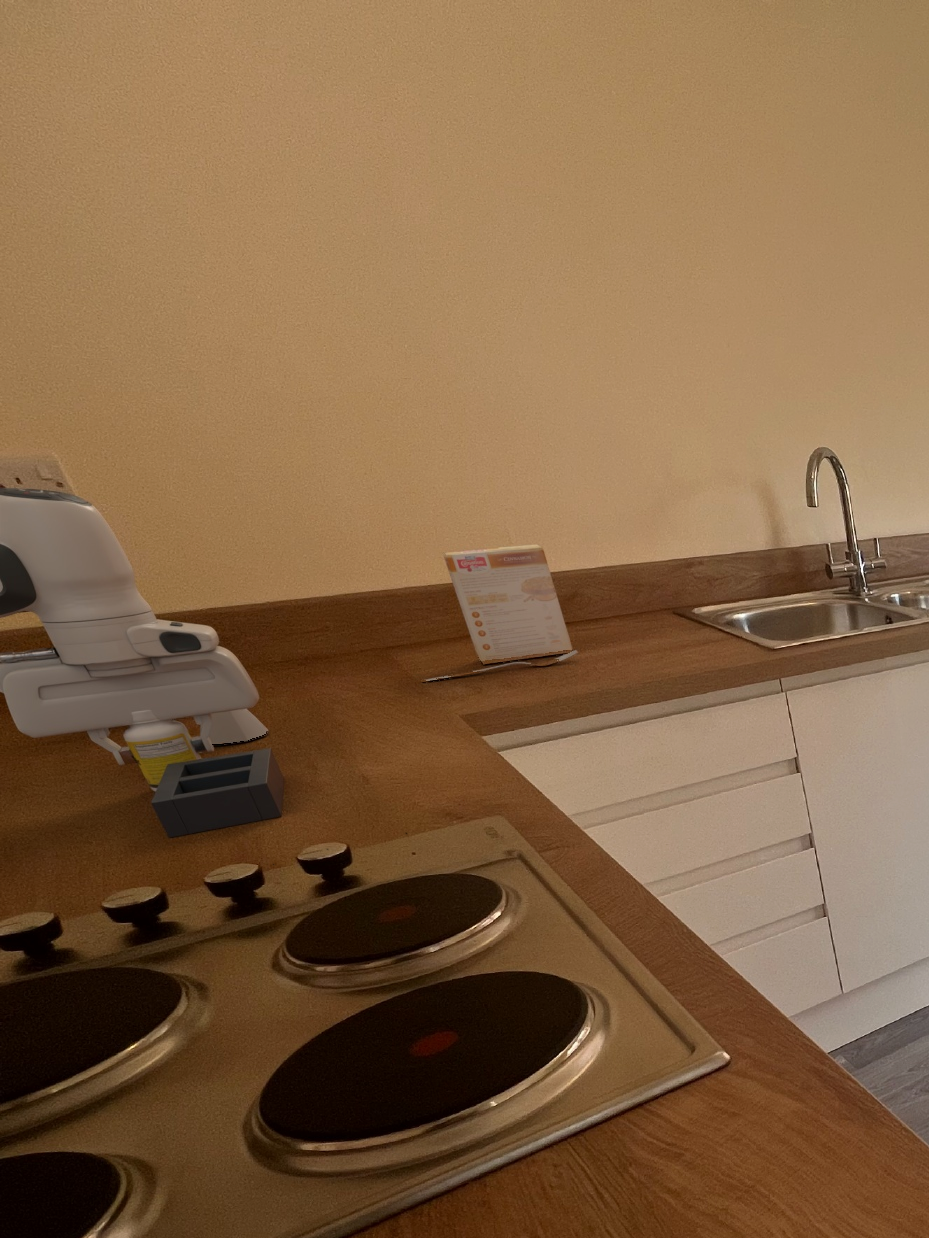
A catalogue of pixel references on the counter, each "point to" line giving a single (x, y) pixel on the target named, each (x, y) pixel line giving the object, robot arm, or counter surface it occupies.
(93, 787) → the counter surface
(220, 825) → the holder
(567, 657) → the fork
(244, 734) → the flask
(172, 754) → the supplement bottle
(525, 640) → the coffeecake box
